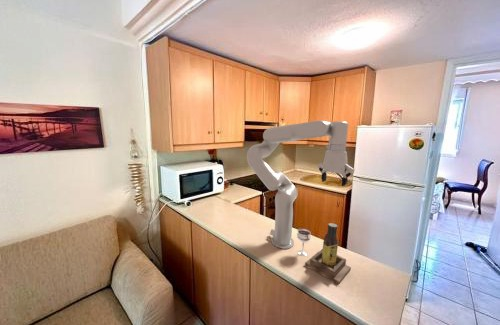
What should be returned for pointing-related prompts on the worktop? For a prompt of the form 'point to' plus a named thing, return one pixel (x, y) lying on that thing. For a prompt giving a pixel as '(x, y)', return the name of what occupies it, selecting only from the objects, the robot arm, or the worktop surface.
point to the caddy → (331, 273)
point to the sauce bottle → (330, 246)
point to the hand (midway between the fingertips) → (333, 183)
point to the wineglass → (303, 239)
